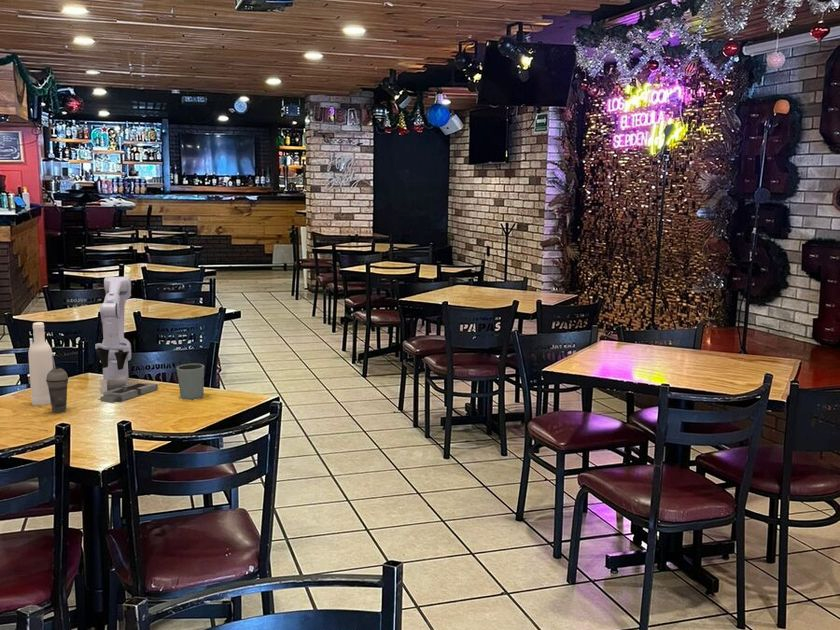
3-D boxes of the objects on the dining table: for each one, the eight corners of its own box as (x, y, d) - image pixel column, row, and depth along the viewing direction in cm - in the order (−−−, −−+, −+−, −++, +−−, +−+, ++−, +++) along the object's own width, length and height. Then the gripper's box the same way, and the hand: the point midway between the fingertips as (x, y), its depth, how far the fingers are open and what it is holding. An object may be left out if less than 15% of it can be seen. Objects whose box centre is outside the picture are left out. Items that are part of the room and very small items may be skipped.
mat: (97, 400, 298) (97, 399, 298) (137, 387, 317) (137, 386, 317) (120, 403, 294) (120, 402, 294) (159, 390, 313) (159, 389, 313)
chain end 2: (122, 392, 308) (122, 386, 308) (142, 386, 318) (142, 380, 318) (141, 395, 305) (140, 389, 304) (160, 388, 315) (160, 382, 314)
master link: (101, 395, 306) (100, 380, 305) (120, 389, 315) (119, 374, 314) (107, 396, 305) (106, 380, 304) (126, 390, 314) (125, 375, 313)
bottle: (26, 404, 292) (21, 323, 287) (45, 399, 299) (40, 320, 294) (41, 407, 288) (35, 325, 283) (60, 402, 295) (55, 322, 290)
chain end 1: (97, 400, 296) (97, 394, 296) (119, 393, 306) (118, 387, 306) (116, 403, 293) (116, 397, 293) (137, 396, 303) (137, 390, 303)
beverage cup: (64, 414, 280) (61, 358, 277) (44, 413, 280) (40, 358, 277) (74, 408, 287) (70, 353, 284) (53, 407, 288) (50, 353, 284)
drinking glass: (210, 396, 306) (209, 365, 304) (190, 402, 298) (189, 370, 296) (192, 392, 311) (191, 362, 309) (171, 397, 303) (170, 367, 301)
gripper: (88, 334, 305) (90, 368, 307) (118, 337, 300) (120, 372, 302) (102, 331, 312) (104, 365, 314) (131, 334, 306) (133, 368, 308)
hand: (112, 368), depth 308 cm, fingers open, 7 cm apart
